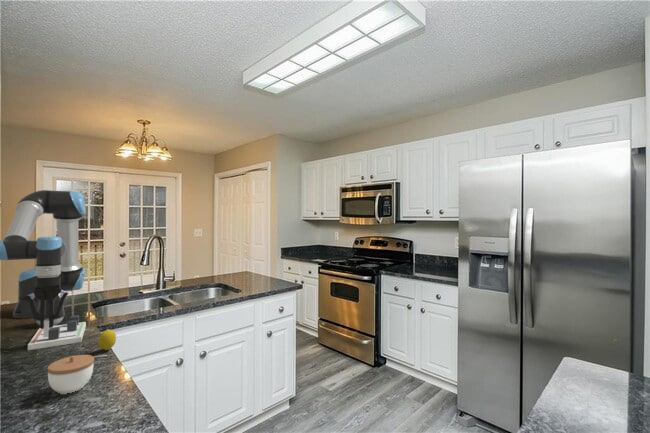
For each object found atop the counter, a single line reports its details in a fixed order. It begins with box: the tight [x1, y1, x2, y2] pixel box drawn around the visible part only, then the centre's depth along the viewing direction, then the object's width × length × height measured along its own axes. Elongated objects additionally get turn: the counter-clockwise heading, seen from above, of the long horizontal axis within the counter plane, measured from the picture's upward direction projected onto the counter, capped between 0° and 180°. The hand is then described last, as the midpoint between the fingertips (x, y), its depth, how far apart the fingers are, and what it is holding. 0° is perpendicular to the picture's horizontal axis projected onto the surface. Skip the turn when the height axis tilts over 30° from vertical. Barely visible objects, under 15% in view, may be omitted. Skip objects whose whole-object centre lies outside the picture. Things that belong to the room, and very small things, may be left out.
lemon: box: [98, 328, 117, 351], centre depth 120 cm, size 6×6×8 cm
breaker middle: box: [66, 320, 77, 331], centre depth 135 cm, size 3×3×4 cm
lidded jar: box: [47, 354, 95, 395], centre depth 93 cm, size 11×11×9 cm
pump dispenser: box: [35, 294, 66, 326], centre depth 147 cm, size 10×10×15 cm
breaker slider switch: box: [48, 327, 60, 340], centre depth 126 cm, size 3×3×4 cm
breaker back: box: [69, 314, 80, 325], centre depth 142 cm, size 3×3×4 cm
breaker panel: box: [27, 321, 87, 351], centre depth 133 cm, size 22×16×2 cm
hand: (46, 336), depth 125 cm, fingers closed
